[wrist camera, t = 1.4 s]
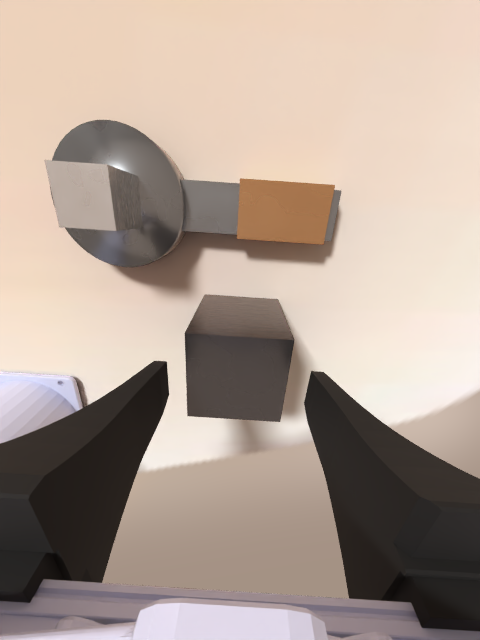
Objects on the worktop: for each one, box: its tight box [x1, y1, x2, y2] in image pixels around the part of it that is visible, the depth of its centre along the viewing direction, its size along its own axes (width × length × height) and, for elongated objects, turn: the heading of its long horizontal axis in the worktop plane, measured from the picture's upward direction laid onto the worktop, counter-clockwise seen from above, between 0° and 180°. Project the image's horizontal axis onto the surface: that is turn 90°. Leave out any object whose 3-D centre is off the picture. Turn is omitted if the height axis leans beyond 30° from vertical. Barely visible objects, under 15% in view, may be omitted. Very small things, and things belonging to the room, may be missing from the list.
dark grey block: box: [185, 295, 294, 422], centre depth 15 cm, size 5×5×6 cm
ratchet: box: [45, 120, 341, 267], centre depth 12 cm, size 16×7×5 cm, turn 86°
